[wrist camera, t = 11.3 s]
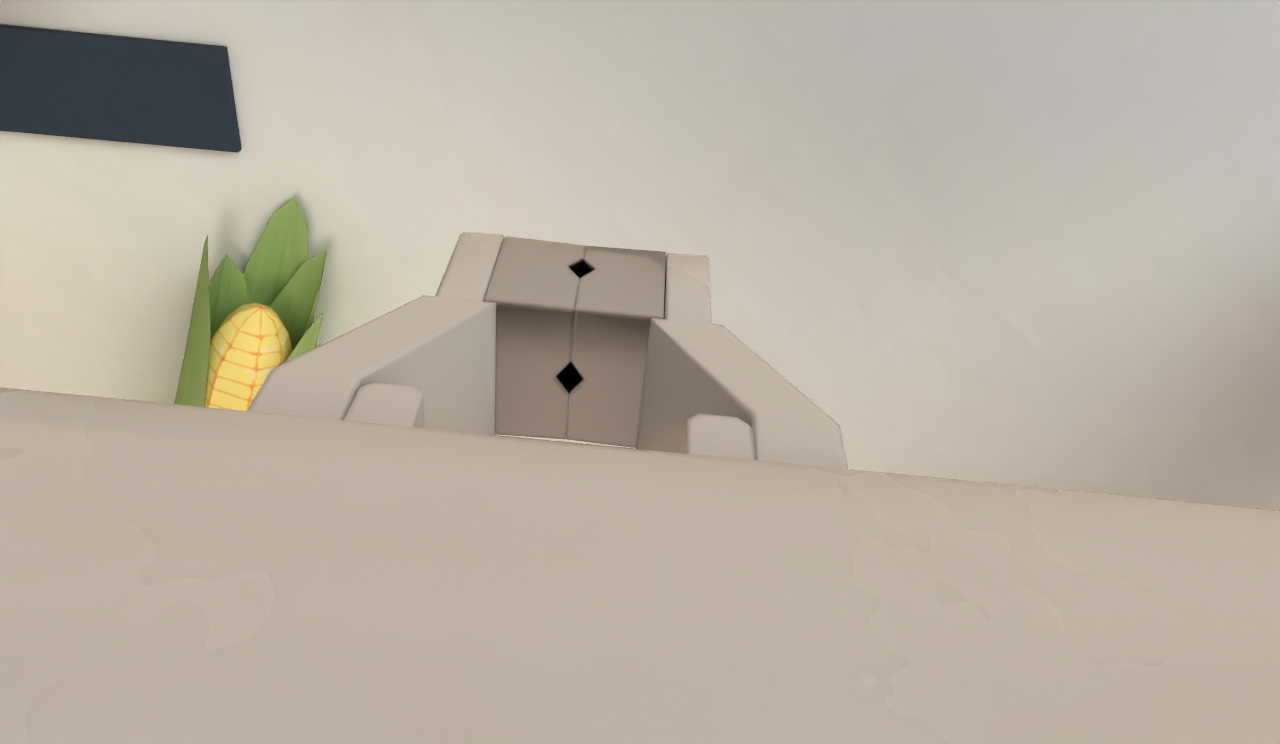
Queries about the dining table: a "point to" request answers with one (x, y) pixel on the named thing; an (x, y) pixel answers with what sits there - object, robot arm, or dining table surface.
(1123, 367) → the dining table surface
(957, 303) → the dining table surface
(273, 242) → the edible corn
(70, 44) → the dark grey flat piece
